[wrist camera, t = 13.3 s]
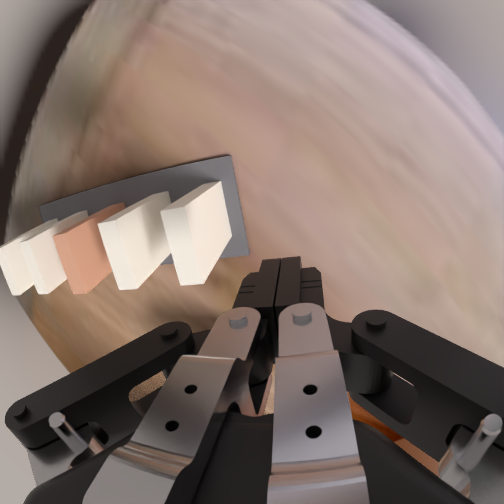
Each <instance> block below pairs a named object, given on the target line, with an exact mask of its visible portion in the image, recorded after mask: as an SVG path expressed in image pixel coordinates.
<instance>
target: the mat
mask: <svg viewBox="0 0 504 504" xmlns="http://www.w3.org/2000/svg"><path fill="white" fill-rule="evenodd" d="M217 181H221V184H222V189H223V194H224V199H225V204H226V209H227V214H228V219H229V223H230V228H231V233H232V237H231V238H230V240H229V242H228V243H227V245H226V247H225V248H224V250H223V252H222V253H221V255H220V257H219V258H227V257H236V256H245V255H249V254H250V251H249V246H248V241H247V236H246V231H245V225H244V220H243V215H242V210H241V204H240V199H239V194H238V189H237V184H236V178H235V173H234V168H233V163H232V157H231V155H229V156H224V157H219V158H213V159H208V160H204V161H199V162H194V163H189V164H185V165H180V166H176V167H171V168H167V169H163V170H159V171H155V172H151V173H147V174H143V175H139V176H135V177H131V178H128V179H124V180H120V181H117V182H113V183H110V184H106V185H103V186H99V187H96V188H93V189H89V190H86V191H83V192H80V193H77V194H74V195H70V196H67V197H64V198H61V199H58V200H55V201H53V202H50V203H47V204H44V205H41V206H39V210H40V213H41V217H42V220H43V223H45V222H47V221H49V220H53V219H56V218H57V219H58V222H59V221H61V220H63V219H65V218H67V217H69V216H71V215H73V214H75V213H78V212H81V211H85V210H87V212H88V216H91V215H93V214H95V213H97V212H99V211H101V210H103V209H105V208H107V207H109V206H111V205H114V204H118V203H123V202H124V205H125V209H126V208H127V207H129V206H131V205H133V204H135V203H137V202H139V201H141V200H143V199H145V198H147V197H149V196H151V195H152V194H156V193H161V192H166V191H168V192H169V196H170V200H171V204H172V203H173V202H175V201H177V200H178V199H180V198H181V197H183V196H185V195H186V194H188V193H189V192H191V191H193V190H194V189H196V188H197V187H199V186H201V185H202V184H206V183H212V182H217ZM172 263H174V261H173V258H172V254H171V253H170V255H169V256H168V257H167V258H166V259H165V260H164V261H163V262H162V263H161V264H160V265H163V264H172Z"/></svg>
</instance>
